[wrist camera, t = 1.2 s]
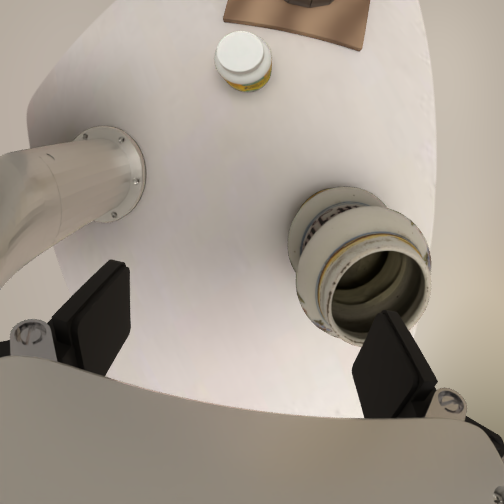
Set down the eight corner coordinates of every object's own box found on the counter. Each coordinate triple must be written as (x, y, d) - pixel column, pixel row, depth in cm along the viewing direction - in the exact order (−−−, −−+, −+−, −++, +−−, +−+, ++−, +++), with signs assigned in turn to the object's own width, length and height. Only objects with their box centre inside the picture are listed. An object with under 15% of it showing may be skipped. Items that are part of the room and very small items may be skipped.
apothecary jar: (391, 193, 35) (474, 244, 18) (362, 279, 39) (411, 371, 23) (298, 167, 35) (325, 201, 18) (275, 261, 39) (278, 357, 22)
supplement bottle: (248, 41, 29) (241, 12, 20) (281, 71, 30) (286, 50, 22) (214, 72, 31) (195, 52, 22) (247, 102, 32) (239, 91, 23)
